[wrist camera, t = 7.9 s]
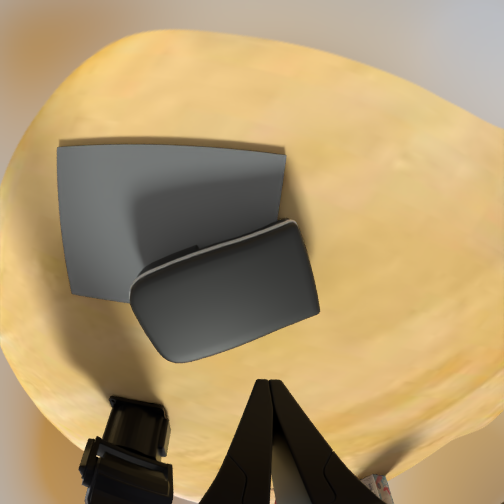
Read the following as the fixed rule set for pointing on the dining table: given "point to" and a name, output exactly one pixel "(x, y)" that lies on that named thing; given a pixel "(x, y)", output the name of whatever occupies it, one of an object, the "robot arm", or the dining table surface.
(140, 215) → the mat
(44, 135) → the dining table surface
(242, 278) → the battery charger
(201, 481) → the dining table surface
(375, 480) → the juice carton
